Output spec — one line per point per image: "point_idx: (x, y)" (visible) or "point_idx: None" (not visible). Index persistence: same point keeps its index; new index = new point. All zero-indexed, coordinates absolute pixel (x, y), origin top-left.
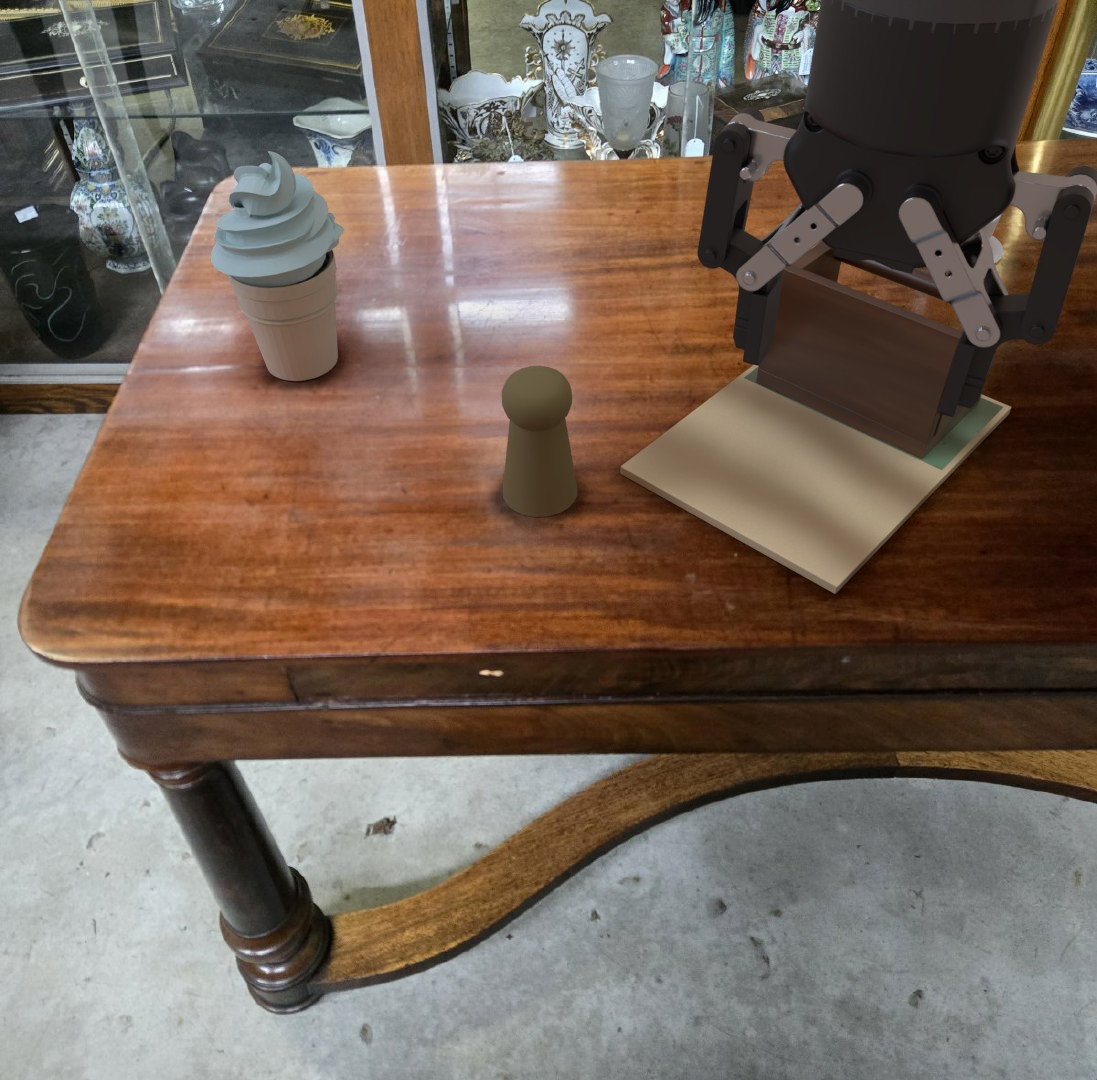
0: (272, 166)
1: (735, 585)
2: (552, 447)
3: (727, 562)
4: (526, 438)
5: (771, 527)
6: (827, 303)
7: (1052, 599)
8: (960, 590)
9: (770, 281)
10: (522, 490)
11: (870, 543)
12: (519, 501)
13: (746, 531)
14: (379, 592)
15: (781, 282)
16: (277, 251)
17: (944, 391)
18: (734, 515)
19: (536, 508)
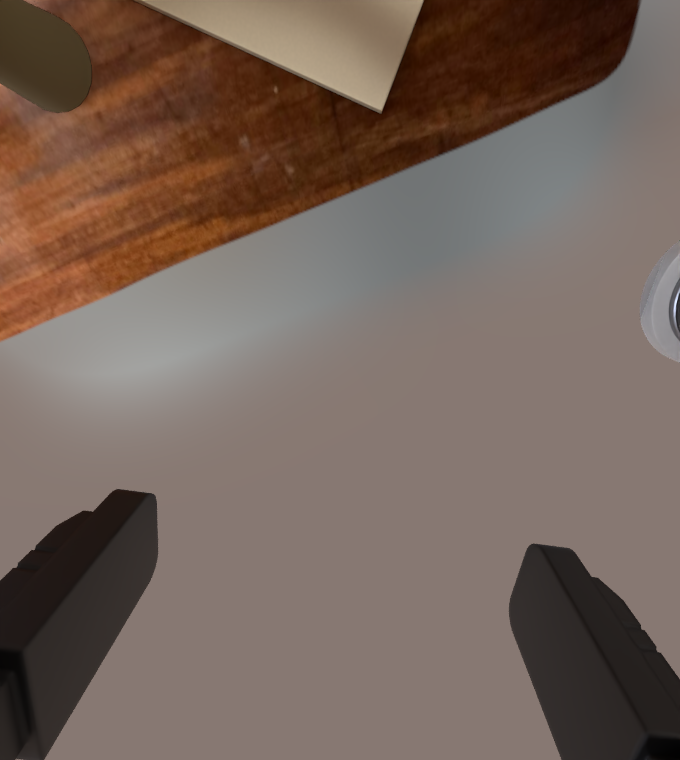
0: None
1: (287, 137)
2: (13, 54)
3: (271, 105)
4: None
5: (300, 35)
6: None
7: (598, 31)
8: (503, 55)
9: (7, 746)
10: (32, 98)
11: (408, 19)
12: (40, 104)
13: (276, 54)
14: (7, 266)
15: (45, 631)
16: None
17: (529, 670)
18: (257, 29)
19: (62, 106)
